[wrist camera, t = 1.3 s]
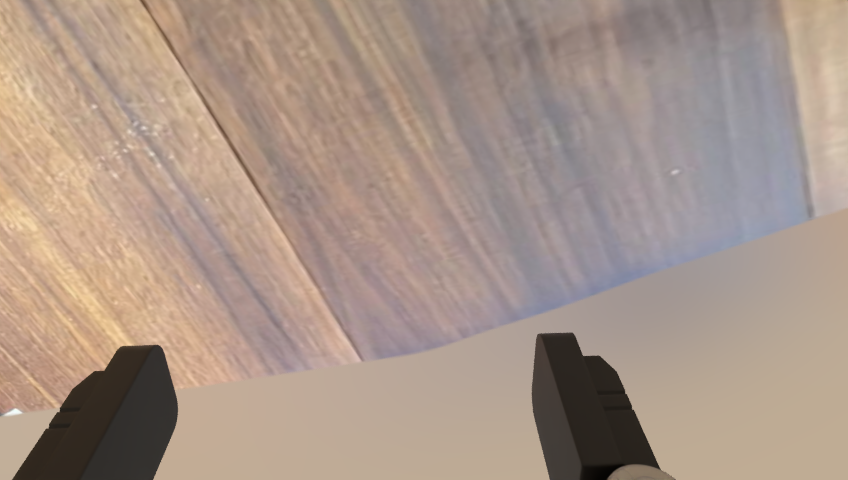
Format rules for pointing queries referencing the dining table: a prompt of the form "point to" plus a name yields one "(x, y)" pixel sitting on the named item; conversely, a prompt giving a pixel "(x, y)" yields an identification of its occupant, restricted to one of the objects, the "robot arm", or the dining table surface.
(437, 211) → the dining table surface
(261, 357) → the dining table surface
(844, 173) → the dining table surface
